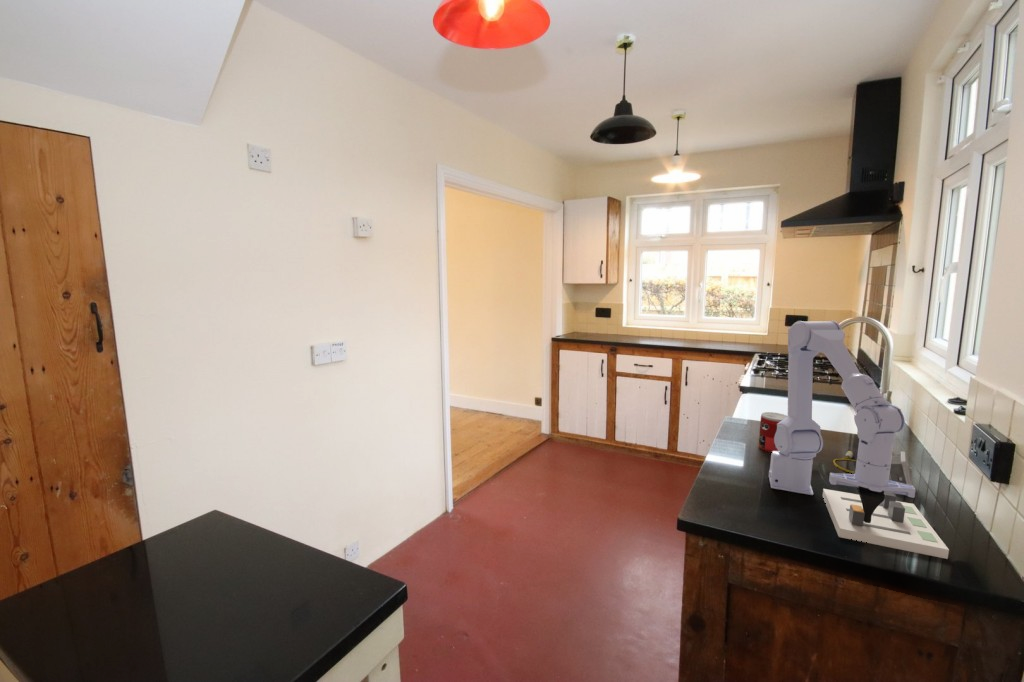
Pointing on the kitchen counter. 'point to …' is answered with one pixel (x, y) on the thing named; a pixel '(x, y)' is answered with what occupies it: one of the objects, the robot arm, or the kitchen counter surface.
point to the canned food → (769, 430)
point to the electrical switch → (901, 469)
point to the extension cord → (848, 456)
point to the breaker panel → (885, 524)
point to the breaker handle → (856, 515)
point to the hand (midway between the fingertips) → (866, 520)
